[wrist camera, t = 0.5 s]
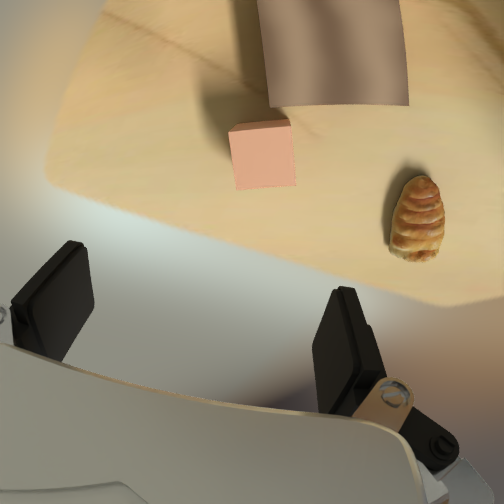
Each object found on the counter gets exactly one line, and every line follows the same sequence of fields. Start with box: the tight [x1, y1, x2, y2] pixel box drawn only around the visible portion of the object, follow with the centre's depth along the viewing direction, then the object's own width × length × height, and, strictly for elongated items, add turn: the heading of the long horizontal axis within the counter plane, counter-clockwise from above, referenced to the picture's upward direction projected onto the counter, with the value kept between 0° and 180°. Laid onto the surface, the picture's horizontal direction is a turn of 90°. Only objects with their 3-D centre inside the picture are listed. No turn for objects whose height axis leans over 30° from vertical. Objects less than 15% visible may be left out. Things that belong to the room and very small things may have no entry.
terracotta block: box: [228, 119, 296, 190], centre depth 28 cm, size 5×5×6 cm
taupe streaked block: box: [257, 0, 409, 108], centre depth 23 cm, size 12×12×5 cm
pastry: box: [389, 176, 445, 262], centre depth 31 cm, size 9×7×4 cm
